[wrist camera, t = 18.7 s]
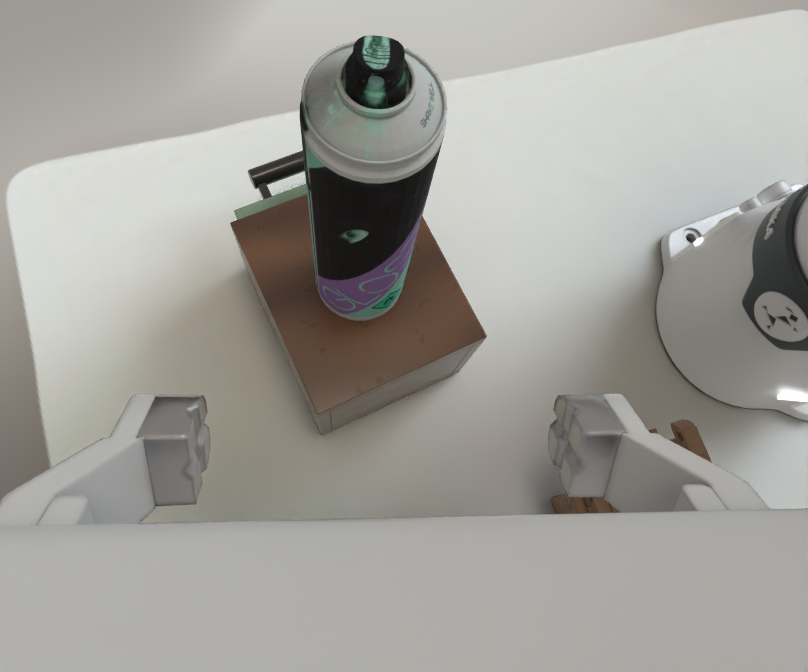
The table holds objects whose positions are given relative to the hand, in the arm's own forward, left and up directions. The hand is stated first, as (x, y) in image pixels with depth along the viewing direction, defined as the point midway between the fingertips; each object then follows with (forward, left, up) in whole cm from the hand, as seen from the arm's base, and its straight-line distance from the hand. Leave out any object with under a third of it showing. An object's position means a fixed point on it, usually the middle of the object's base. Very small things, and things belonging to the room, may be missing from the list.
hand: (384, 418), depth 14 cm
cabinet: (-7, -10, -32) cm, 34 cm away
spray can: (-7, -10, -22) cm, 26 cm away
